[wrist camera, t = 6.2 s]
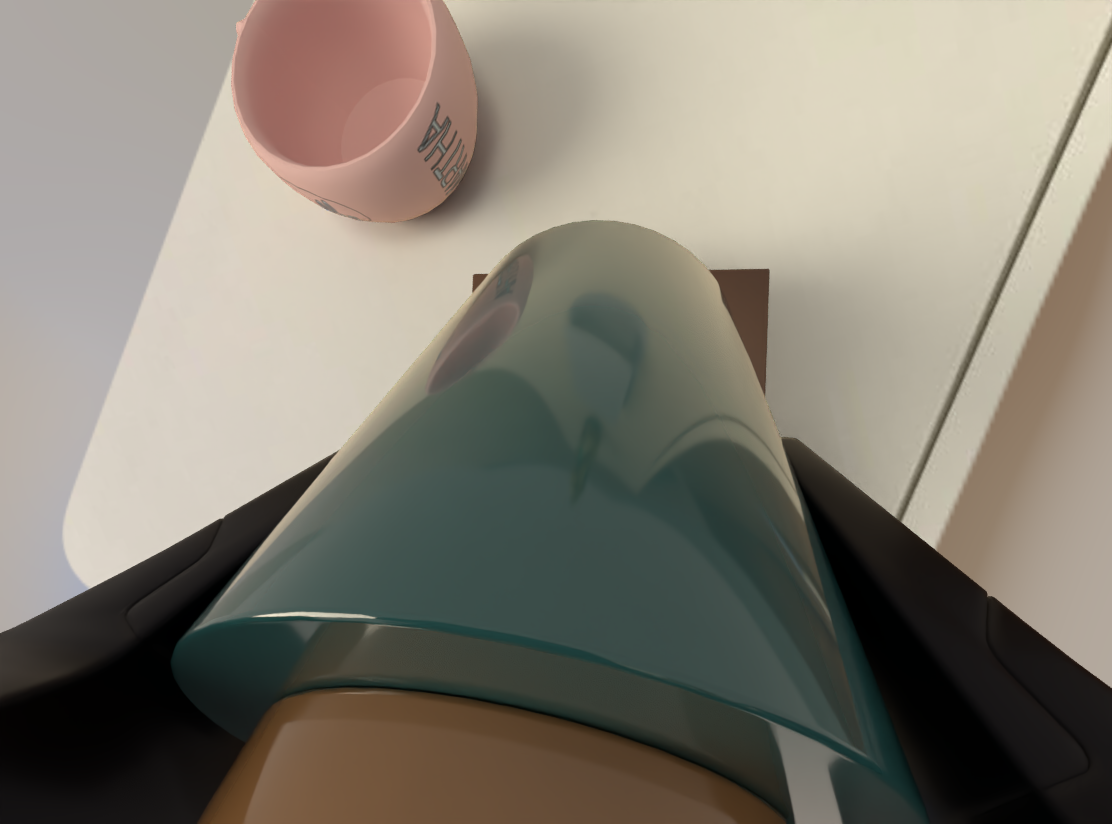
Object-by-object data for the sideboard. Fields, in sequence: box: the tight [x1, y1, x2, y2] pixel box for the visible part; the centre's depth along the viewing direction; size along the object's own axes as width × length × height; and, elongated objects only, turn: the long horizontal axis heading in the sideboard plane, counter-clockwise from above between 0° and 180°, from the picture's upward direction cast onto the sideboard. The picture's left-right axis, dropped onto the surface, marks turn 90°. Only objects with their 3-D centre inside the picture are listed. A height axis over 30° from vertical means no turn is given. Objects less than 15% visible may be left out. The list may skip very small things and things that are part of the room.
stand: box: [472, 269, 769, 396], centre depth 17 cm, size 16×12×6 cm
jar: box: [170, 220, 931, 824], centre depth 8 cm, size 11×7×11 cm, turn 177°
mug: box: [231, 0, 478, 223], centre depth 19 cm, size 12×10×6 cm
